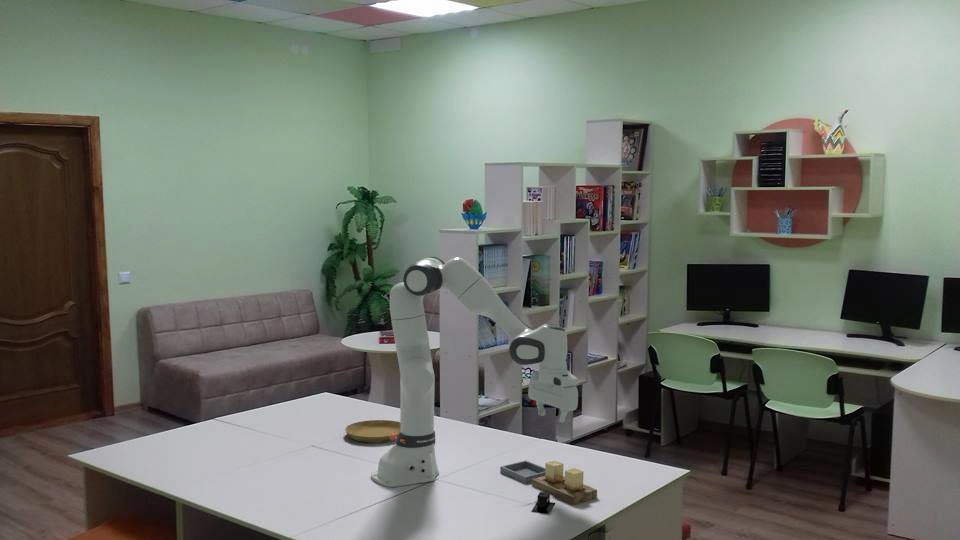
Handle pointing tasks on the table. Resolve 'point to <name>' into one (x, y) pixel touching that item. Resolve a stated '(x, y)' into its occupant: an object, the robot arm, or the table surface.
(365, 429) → the plant saucer
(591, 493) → the pallet
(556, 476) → the block
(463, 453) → the table surface
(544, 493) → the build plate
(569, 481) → the block
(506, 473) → the shallow grey tray
